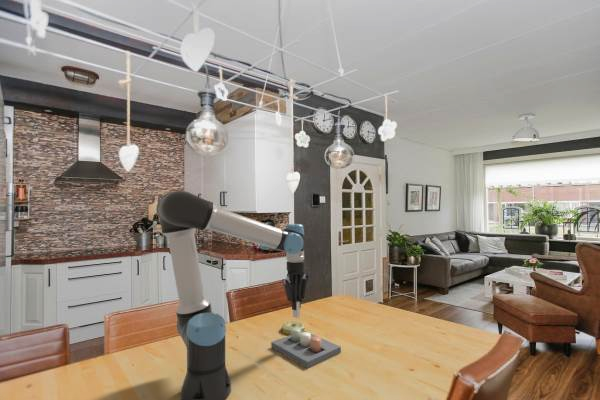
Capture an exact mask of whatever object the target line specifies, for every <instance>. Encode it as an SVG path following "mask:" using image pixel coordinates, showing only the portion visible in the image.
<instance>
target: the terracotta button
mask: <svg viewBox="0 0 600 400" xmlns="http://www.w3.org/2000/svg"><path fill="white" fill-rule="evenodd" d="M321 338H322V337H320V336H318V337H312V338H310V350H311V351H313V352H320V351H321V350H322V347H321Z"/></svg>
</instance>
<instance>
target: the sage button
mask: <svg viewBox="0 0 600 400" xmlns="http://www.w3.org/2000/svg"><path fill="white" fill-rule="evenodd" d="M300 333H301V329H299V328H292V329H291V341H293V342H299V341H300Z"/></svg>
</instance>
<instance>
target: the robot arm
mask: <svg viewBox="0 0 600 400" xmlns="http://www.w3.org/2000/svg"><path fill="white" fill-rule="evenodd" d="M156 215H157V217H158V219H159V222H160V227H161V228H160V229H161V234H162V235H163V236H165V237H167V239H168V240H167V241H168V245H169V247H168V248H169V251H170V257H171V262H172V269H173V275H174V280H175V281H174V282H175V286H176V292H177V297H178V303H179V305H178V306H177V307H176V309H175V314H176V319H177V321H176V330H177V332H178V335H179V336H180V338H181V339H182V341H183V343H184V345H185V347H186V373H185V376H184V379H183V383H182V386H181V388H180V399H181V400H226V399H227V398H228V397H229V396H230V394H231V391H232V382H231V379H230V378H231V377H230V375H229V372H228V370H227V366H226V333H227V329H226V328H227V326H226V321H225V319H224V317H223V316H222V315H221V314H218V313H214V312H212V305H211V301H210V300H209V299H208V298H206V297H205V295H206V294H205V291H204V285H203V280H202V279H203V278H202V274H201V273H202V272H201V267H200V261H199V256H198V255H199V254H198V251H197V250H198V249H197V244H196V243H197V242H196V237H195V231H196V230H199V231H201V232H204V231H206V230H211V231H214V232H215V233H216V232H217V233H220V234H224V235H227V236H230V237H234V238H237V239H240V240H244V241H247V242H250V243H253V244H256V245H258V246H259V247H260V249H261V250H267V251H269V250H276V251H278V252H282V253H285V254H286V255H285V257H286V258H285V259H286V270H287V274H286V277H285V278H283V279H282V280H281V281H282V283H283V285H284V289H285V294H286V298H287V299H286V300H287V301H288V302H290V303H291V310H292V317H293V318H296V319H299V318H301V308H302V305H301V303H302V302H303V300H304V299H305V295H306V288H307V282H308V280H309V275H307V274H305V272H304V270H305V261H304V260H305V229H304V225H303V224H301V223H289V224H286V226H285V229H281V228H279V227H275V226H273V225H271V224H267V223H265V222H262V221H259V220H255V219H252V218H249V217H247V216H244V215H240V214H238V213H235V212H232V211H229V210H226V209H223V208H221V207H217V206H216V205H215V203H214V202H213V201H210V200H207V199H204V198H202V197H200V196H198V195H197V194H194V193H191V192H190V191H187V190H186V191H185V190H175V191H170V192H167V193H165V194H164V195H162V196H161V197H160V199H159V200H158V202H157V205H156Z"/></svg>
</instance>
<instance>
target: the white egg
mask: <svg viewBox="0 0 600 400" xmlns="http://www.w3.org/2000/svg"><path fill="white" fill-rule="evenodd" d="M310 333H311V332H309V333H308V331H306V332H303V333H300V345H301V346H303V347H308V346H310V338H311V334H312V333H311V334H310Z"/></svg>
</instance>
